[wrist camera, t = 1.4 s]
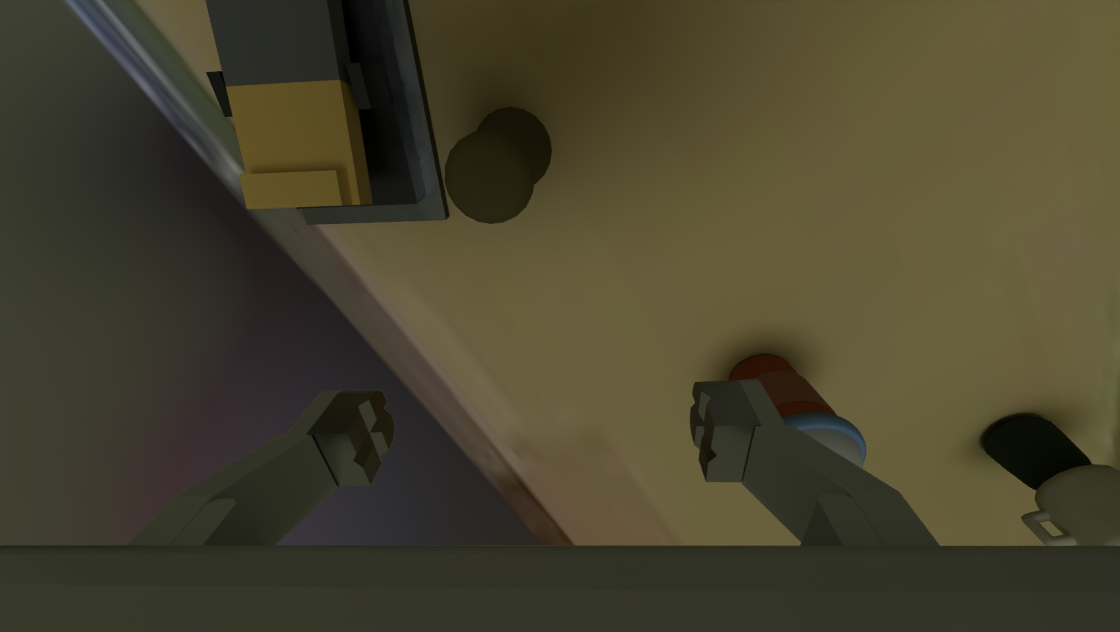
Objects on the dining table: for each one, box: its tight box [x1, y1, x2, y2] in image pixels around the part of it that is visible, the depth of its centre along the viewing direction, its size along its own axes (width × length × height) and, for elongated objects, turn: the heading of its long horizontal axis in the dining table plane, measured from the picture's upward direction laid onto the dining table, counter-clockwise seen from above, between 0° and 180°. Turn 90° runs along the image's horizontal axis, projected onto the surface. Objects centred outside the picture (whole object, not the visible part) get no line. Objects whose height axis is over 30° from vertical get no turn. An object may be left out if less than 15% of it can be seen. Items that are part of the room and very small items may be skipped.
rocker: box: [206, 0, 373, 209], centre depth 25 cm, size 14×7×3 cm, turn 3°
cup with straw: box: [729, 355, 866, 469], centre depth 35 cm, size 9×9×18 cm
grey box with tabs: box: [206, 0, 449, 225], centre depth 28 cm, size 20×12×7 cm, turn 3°
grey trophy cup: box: [985, 417, 1120, 546], centre depth 39 cm, size 11×7×13 cm, turn 123°
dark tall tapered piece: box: [445, 107, 552, 224], centre depth 28 cm, size 6×6×11 cm
